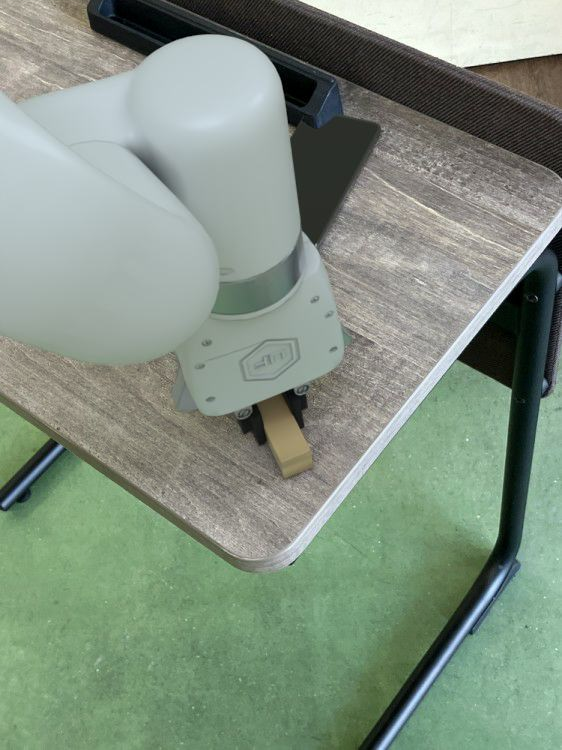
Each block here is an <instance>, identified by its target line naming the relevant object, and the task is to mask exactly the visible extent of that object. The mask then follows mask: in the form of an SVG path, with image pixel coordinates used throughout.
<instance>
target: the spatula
mask: <svg viewBox="0 0 562 750" xmlns="http://www.w3.org/2000/svg"><path fill="white" fill-rule="evenodd" d="M256 404H257V406H258V408H259V410H260V412H261V415H262V419H263V423H264V431H265V435H266V439H267V441H266V443H267V445H268V447H269V450H270V452H271V454H272V456H273V458H274V460H275V462H276V464H277V467H278V469H279V470H280V473H281V475H282V478H283V479H284V480H286V479H287V478H291V477H293V476H294V475H298V474H300V473H302V472H304V471H306V470H309V469H311V468H313V467H314V463H313V456H312V451H311V447H310V446H309V444H308V442H307V440H306V438H305V436H304V434H303V432H302V430H301V429H300V428H299V426H298V424H297V422H296V420H295V418H294V416H293V415H292V414H291V412H290V410H289V408H288V406H287V404H286V402H285V400H284V398H283V396H282V394H281V393H280V394H278V395H275V396H273V397H270V398H268V399H265V400H263V401H260V402H258V403H256Z"/></svg>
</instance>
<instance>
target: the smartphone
mask: <svg viewBox="0 0 562 750" xmlns="http://www.w3.org/2000/svg"><path fill="white" fill-rule="evenodd" d="M331 113H332V114H337V115H336V116H335V117H333V118H332V119H331V120H330V121H328V122H327V123H326V124H324V125H323V126H321V127H320V128H318V129H314V128H312V127H311V126H309V125H307V124H306V123H305V122H303V121H302V119H303V118H304V115H303V116H302V117H301V119H300V120H299V122H298V124H297V126H296V127H295V129H294V131H293V133H292V134H291V135H290V144H291V151H292V159H293V167H294V174H295V182H296V190H297V197H298V205H299V213H300V221H301V228H302V231H303V232H304V233H305V234H306V236H307V237H308V238H309V240H310V241H311V242H312V243H313V245H314V246H315V247H316V249H317V250H318V251H319V247H321V244H322V243H323V240H324V239H325V237H326V235H327V233H328V231H329V229H330V227H331V226H332V224H333V223H334V220H335V219H336V216H337V215H338V213H339V211H340V209H341V207H342V205H343V204H344V202H345V200H346V198H347V196H348V195H349V193H350V190H351V188H352V187H353V185H354V183H355V182H356V180H357V177H358V176H359V174H360V172H361V170H362V168H363V167H364V164H365V163H366V161H367V159H368V157H369V156H370V153H371V152H372V149H373V147H374V146H375V144H376V142H377V140H378V138H379V137H380V135H381V134H382V133H381V132H382V126H381V124H380V123H379V122H376V121H372V120H368V119H363V118H360V117H359V118H358V117H353V116H349V115H348V116H347V115H345V114H339V113H334V112H331Z"/></svg>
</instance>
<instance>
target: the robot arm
mask: <svg viewBox="0 0 562 750" xmlns="http://www.w3.org/2000/svg"><path fill="white" fill-rule="evenodd" d="M289 129H290V128H289V123H288V115H287V107H286V99H285V94H284V90H283V84H282V80H281V77H280V74H279V73H278V71H277V69H276V66H275V65H274V64H273V62H272V61H271V59H270V58H269V57H268V56H267V54H265V53H264V52H263V51H261V49H259V48H258V47H256V45H254V44H252V43H250V42H248V41H246V40H243V39H241V38H237V37H234V36H229V35H223V34H197V35H192V36H186V37H183V38H179V39H176V40H174V41H171V42H169V43H167V44H165V45H163V46H161V47H160V48H157V49H156V50H154V51H153V52H151V53H150V54H148V56H146V57H145V58H144V59H143V60H142V61H141V62H140V63H139V64H138V65H137V66H136V67H135V68H132V69H129V70H127V71H123V72H120V73H117V74H114V75H111V76H108V77H104V78H99V79H96V80H92V81H89V82H85V83H81V84H77V85H74V86H70V87H66V88H62V89H58V90H54V91H50V92H47V93H42V94H39V95H37V96H33V97H29V98H27V99H23V100H21V101H19V102H17V103H16V102H15V101H14V100H12V99H11V98H10V97H9V96H8V95H7V94H6V93H5V92H4V91H2V89H0V336H2V337H4V338H7V339H10V340H12V341H15V342H18V343H22V344H24V345H28V346H30V347H33V348H36V349H38V350H42V351H46V352H49V353H52V354H54V355H58V356H61V357H64V358H67V359H71V360H75V361H79V362H84V363H88V364H92V365H99V366H100V365H101V366H112V367H117V366H118V367H119V366H133V365H137V364H142V363H148V362H152V361H154V360H157V359H160V358H163V357H165V356H167V355H169V354H170V353H172V352H174V355H175V359H176V362H177V364H178V365H179V367H178V370H177V373H176V377H175V381H174V384H173V386H172V391H171V393H170V397H171V399H172V401H173V403H174V406H175V408H176V411H177V412H179V413H183V412H191V411H192V412H193V411H199V413H201V414H202V415H204V416H207V417H219V416H226V415H228V414H234V417H235V418H236V421H237V423H238V425H239V427H240V430H241V432H242V434H243V435H246V434H248V433H251V432H252V435H253V437H254V439H255V442H256V443H257V446H258V447H260V446H263V445H265V444H266V443H267V439H266V435H265V431H264V423H263V419H262V415H261V412H260V410H259V408H258V406H257V404H256V403H258V402H260V401H263V400H265V399H268V398H270V397H273V396H275V395H278V394H280V393H281V394H282V396H283V398H284V400H285V402H286V404H287V406H288V408H289V410H290V412H291V414H292V415H293V416H294V418H295V420H296V422H297V424H298V426H299V428H300V430H301V429H304V428H305V421H304V415H303V411H304V410H306V409H308V408H309V405H308V398H307V394H308V393H309V392H310V391H311V390H312V383H311V381H313V380H315V379H318V378H320V377H322V376H324V375H327V374H328V373H330V372H331V371H333V370H334V369H336V368H337V367H338V366H339V365H340V363H341V362H342V360H343V358H344V355H345V348H346V347H348V346H349V345H350V344H351V343H352V341H353V340H352V337H351V336H350V334H349V332H348V330H347V329H346V327H345V325H344V324H343V323H342V322H341V321H340V316H339V312H338V307H337V303H336V298H335V295H334V291H333V288H332V284H331V280H330V277H329V274H328V272H327V268H326V266H325V263H324V260H323V259H322V256H321V254H320V252H319V249H318V250H317V249H316V247H315V246H314V245H313V243H312V242H311V241H310V240H309V238H308V237H307V236H306V234H305V233H304V232H303V231H302V228H301V221H300V213H299V205H298V197H297V190H296V182H295V174H294V167H293V159H292V151H291V144H290V137H291V135H290V130H289Z"/></svg>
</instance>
